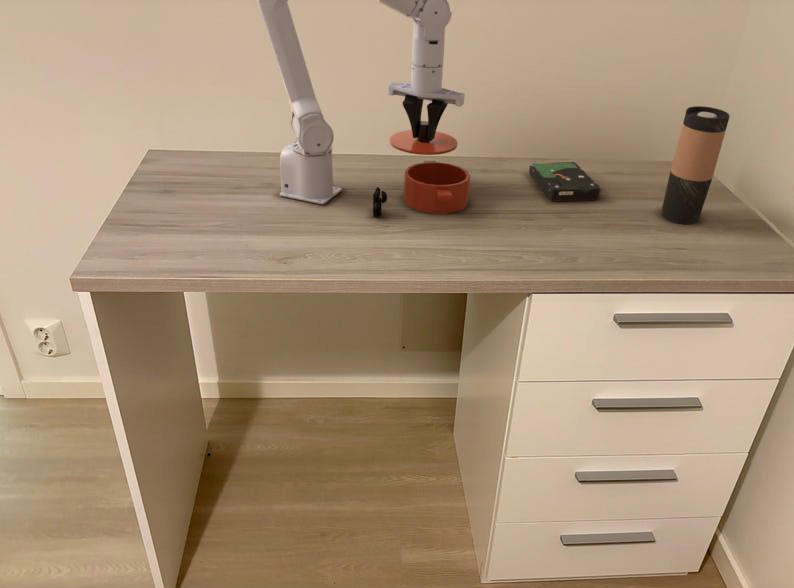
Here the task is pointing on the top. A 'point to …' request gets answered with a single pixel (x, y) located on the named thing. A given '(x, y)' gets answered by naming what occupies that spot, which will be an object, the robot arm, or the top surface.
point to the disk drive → (564, 181)
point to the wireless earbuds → (378, 202)
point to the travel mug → (694, 163)
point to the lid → (423, 141)
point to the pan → (436, 187)
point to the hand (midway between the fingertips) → (423, 138)
